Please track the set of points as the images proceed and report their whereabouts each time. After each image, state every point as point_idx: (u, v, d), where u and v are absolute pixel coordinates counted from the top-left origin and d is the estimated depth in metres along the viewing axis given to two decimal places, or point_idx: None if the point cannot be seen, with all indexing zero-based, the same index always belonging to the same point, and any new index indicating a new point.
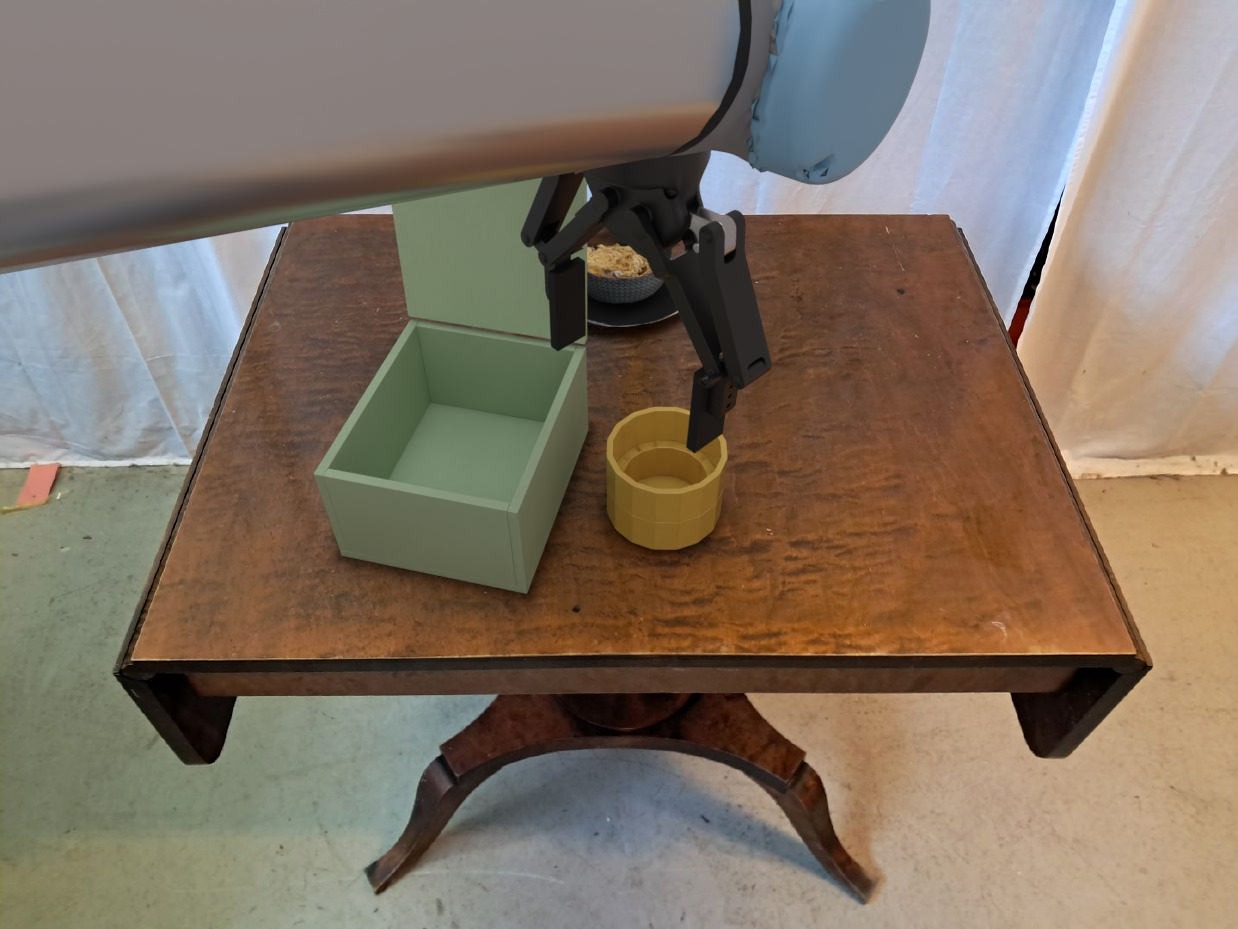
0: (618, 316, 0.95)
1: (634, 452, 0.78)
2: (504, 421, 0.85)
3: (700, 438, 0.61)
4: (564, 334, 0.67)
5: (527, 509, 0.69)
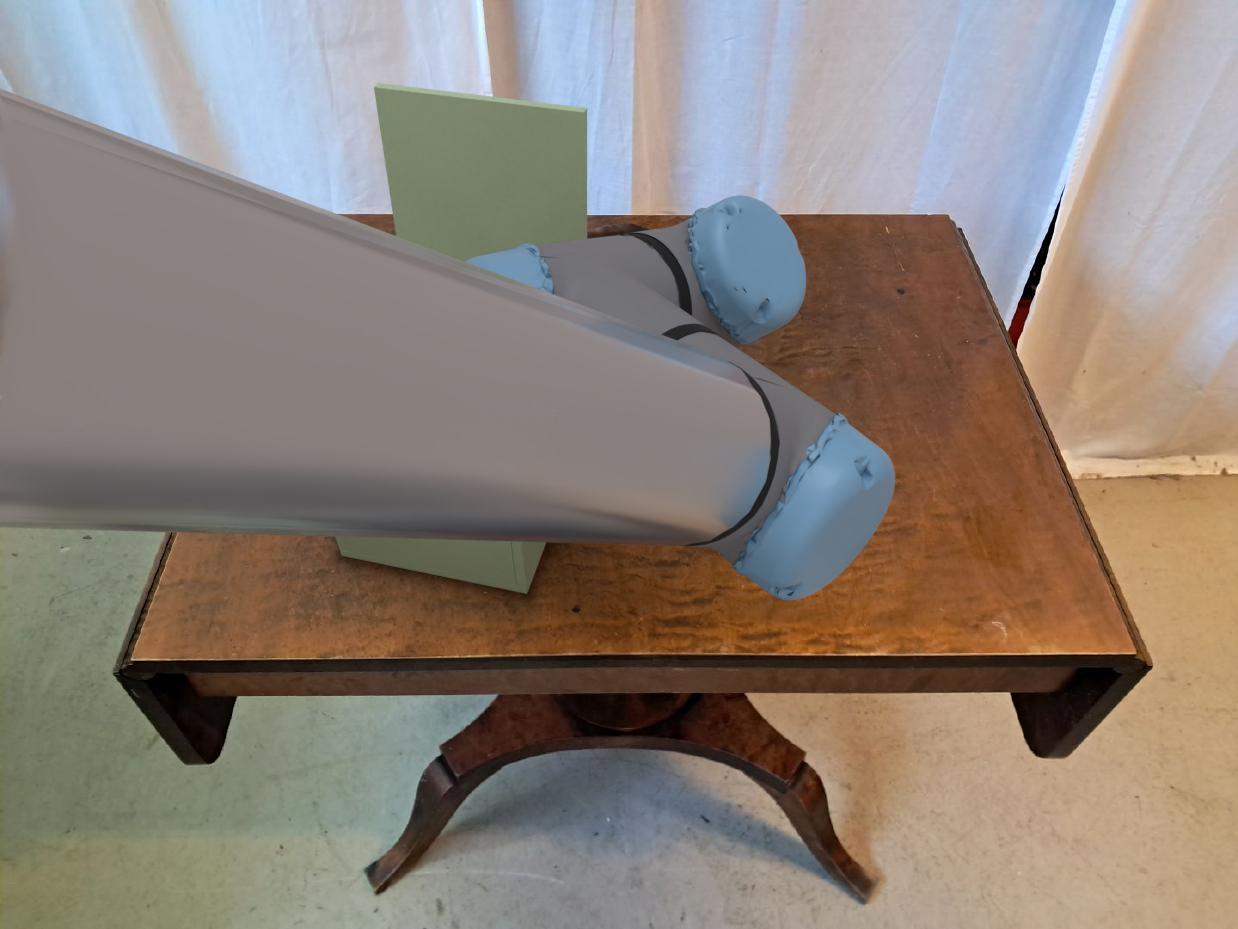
0: None
1: None
2: None
3: None
4: None
5: None
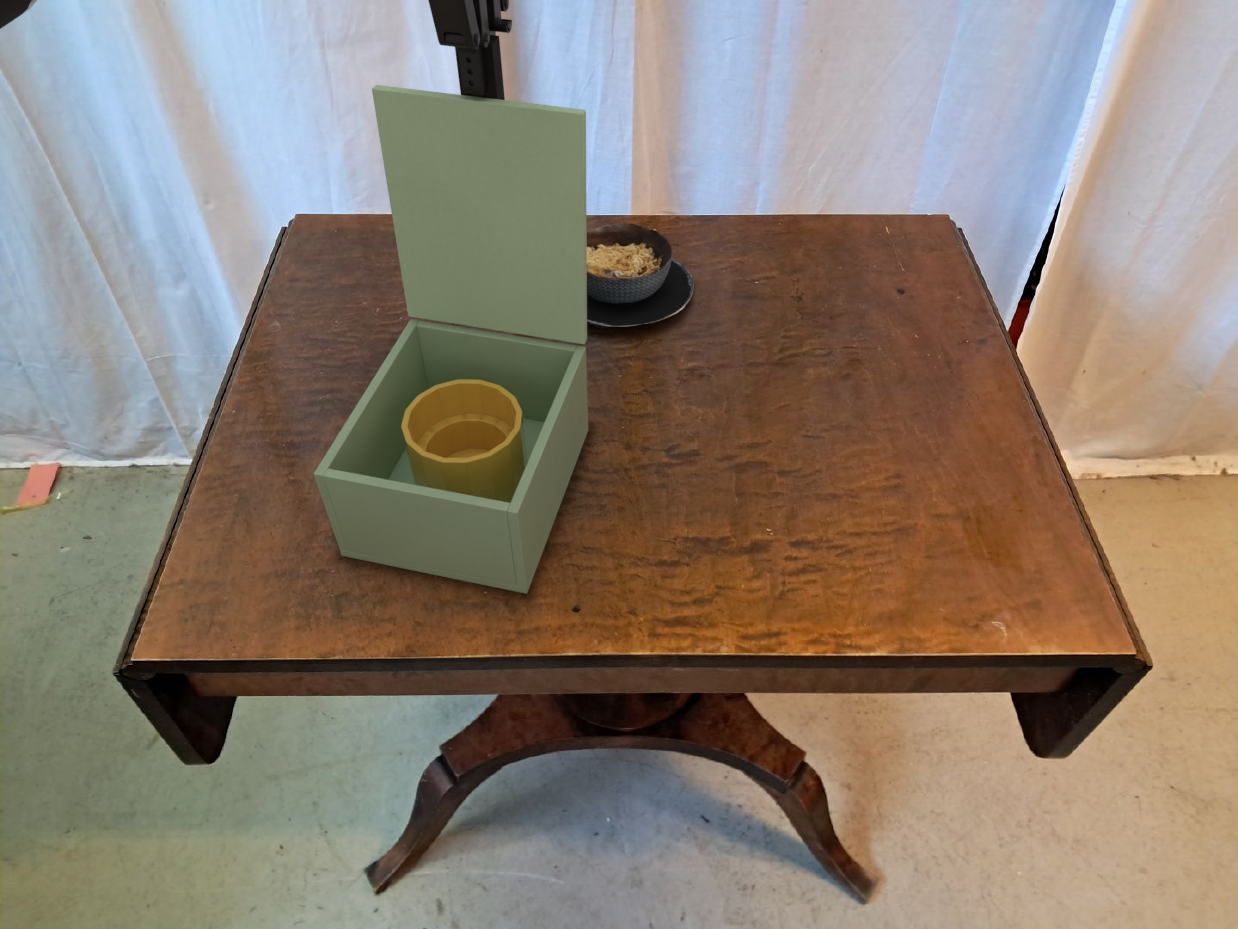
0: (618, 316, 0.95)
1: (441, 424, 0.79)
2: None
3: None
4: None
5: (527, 509, 0.69)
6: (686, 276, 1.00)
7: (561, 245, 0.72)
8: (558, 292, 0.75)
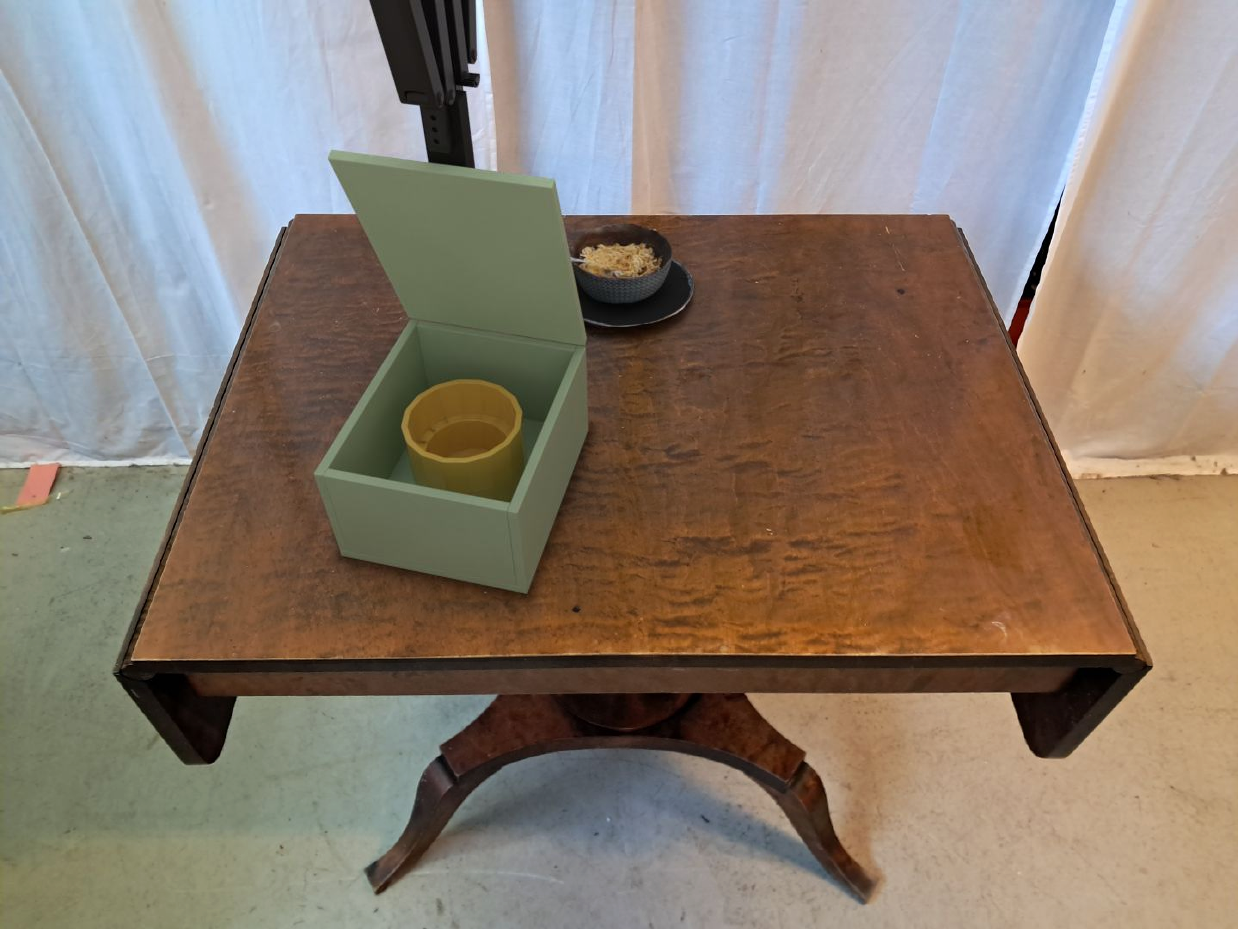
0: (618, 316, 0.95)
1: (441, 424, 0.79)
2: None
3: None
4: None
5: (527, 509, 0.69)
6: (686, 276, 1.00)
7: (548, 279, 0.70)
8: (552, 311, 0.74)
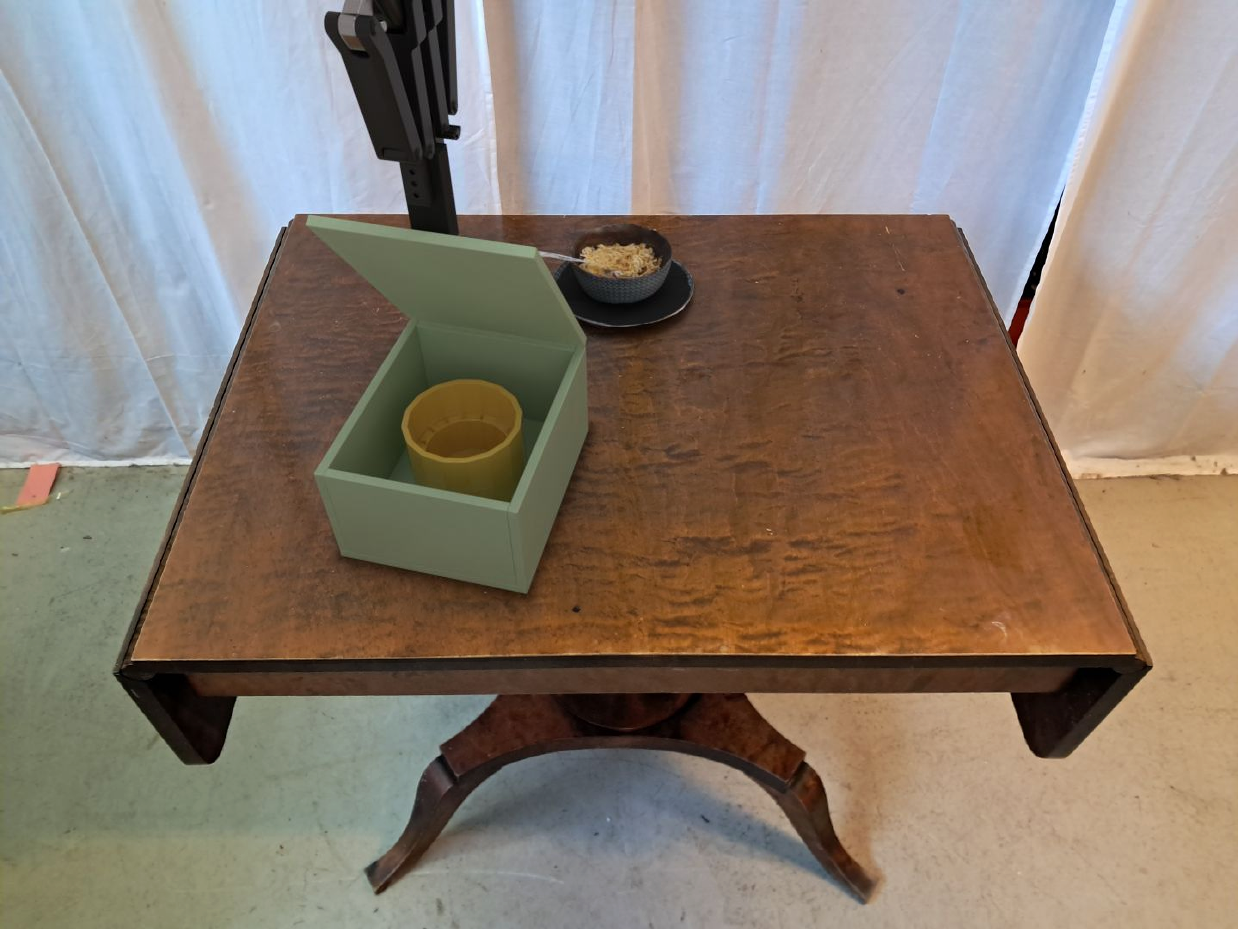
0: (618, 316, 0.95)
1: (441, 424, 0.79)
2: None
3: (416, 226, 0.62)
4: None
5: (527, 509, 0.69)
6: (686, 276, 1.00)
7: (541, 308, 0.70)
8: (549, 325, 0.74)
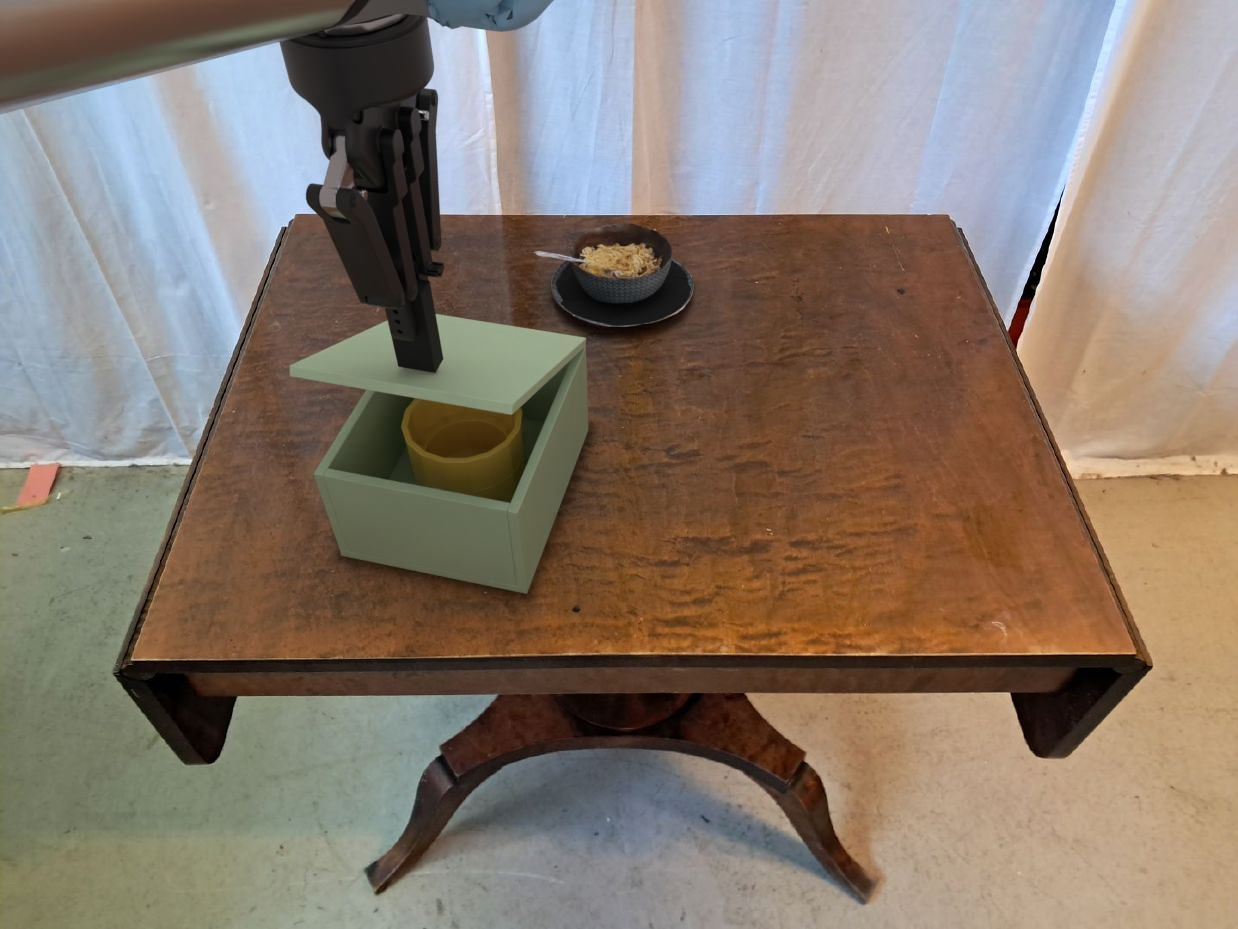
0: (618, 316, 0.95)
1: (441, 424, 0.79)
2: None
3: (401, 355, 0.63)
4: None
5: (527, 509, 0.69)
6: (686, 276, 1.00)
7: None
8: None
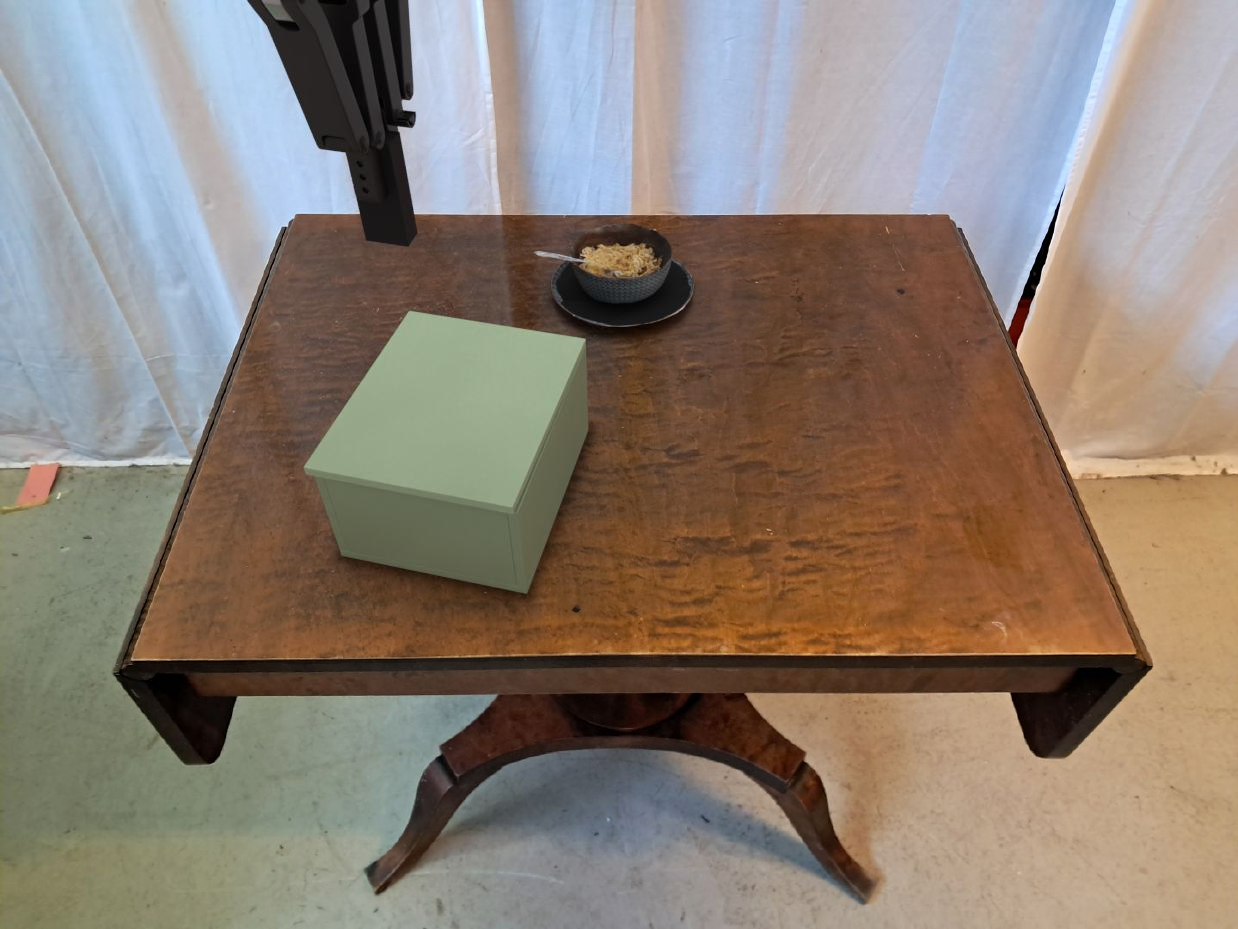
0: (618, 316, 0.95)
1: None
2: None
3: (369, 225, 0.55)
4: None
5: (527, 509, 0.69)
6: (686, 276, 1.00)
7: None
8: None
